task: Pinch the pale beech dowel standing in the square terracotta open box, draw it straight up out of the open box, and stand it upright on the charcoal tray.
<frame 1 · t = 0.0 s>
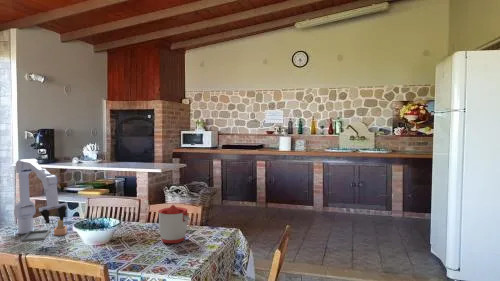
hand: (54, 222, 198), 11 cm above the table, tool pointing down, fingers open, 7 cm apart
citrus juicer: (174, 241, 199), on the table
tray: (36, 237, 205), on the table
dowel: (60, 233, 210), point 1 cm above the table, touching open box
open box: (60, 234, 210), on the table
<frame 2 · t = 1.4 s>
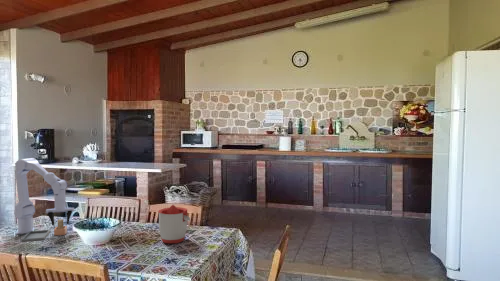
hand: (60, 224, 210), 6 cm above the table, tool pointing down, fingers open, 7 cm apart
nothing on the table moved.
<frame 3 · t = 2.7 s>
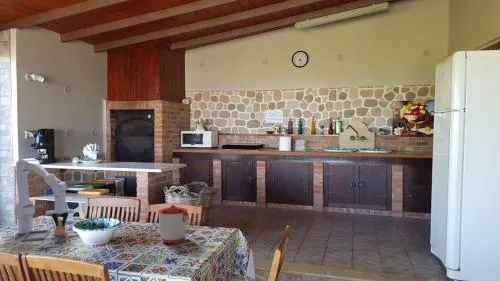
hand: (60, 226, 210), 5 cm above the table, tool pointing down, fingers closed on dowel, 3 cm apart
dowel: (60, 233, 210), point 1 cm above the table, touching open box, gripper
everything else where it was.
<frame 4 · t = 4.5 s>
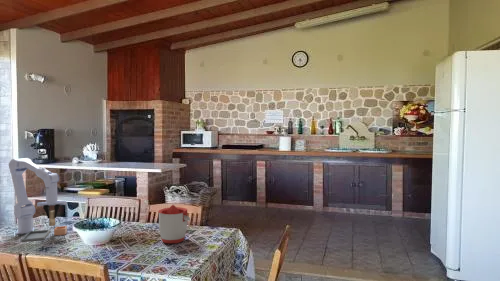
hand: (52, 217, 208), 10 cm above the table, tool pointing down, fingers closed on dowel, 3 cm apart
dowel: (52, 225, 208), point 6 cm above the table, touching gripper
everything else where it was.
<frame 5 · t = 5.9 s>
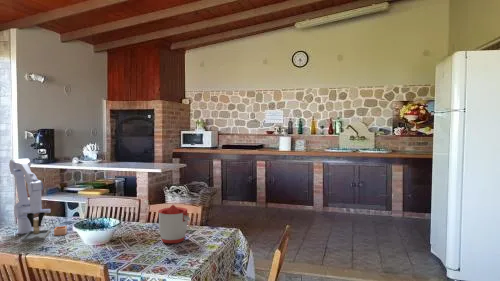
hand: (36, 226, 205), 6 cm above the table, tool pointing down, fingers closed on dowel, 3 cm apart
dowel: (36, 233, 205), point 2 cm above the table, touching gripper
everything else where it was.
when the fingers open (6 cm above the table, at t = 6.7 s): dowel drops 1 cm, resting on tray.
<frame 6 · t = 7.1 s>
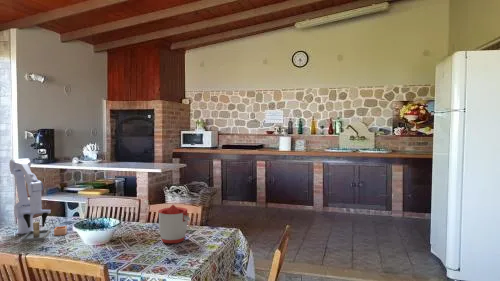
hand: (36, 226, 205), 6 cm above the table, tool pointing down, fingers open, 6 cm apart
dowel: (36, 236, 205), point 1 cm above the table, touching tray
everything else where it was.
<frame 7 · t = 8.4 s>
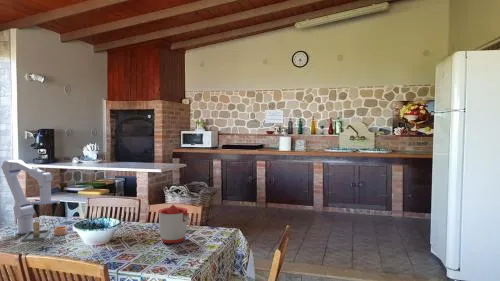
hand: (45, 216, 210), 10 cm above the table, tool pointing down, fingers open, 7 cm apart
nothing on the table moved.
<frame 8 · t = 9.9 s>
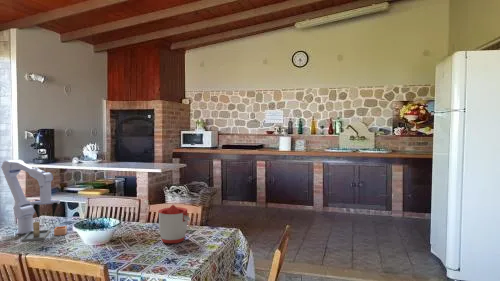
hand: (46, 216, 210), 10 cm above the table, tool pointing down, fingers open, 7 cm apart
nothing on the table moved.
at the end: dowel inside the target area on the tray (0.1 cm from its centre), point 0.6 cm above the tray's base; dowel tilted 0°; the gripper is holding nothing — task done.
